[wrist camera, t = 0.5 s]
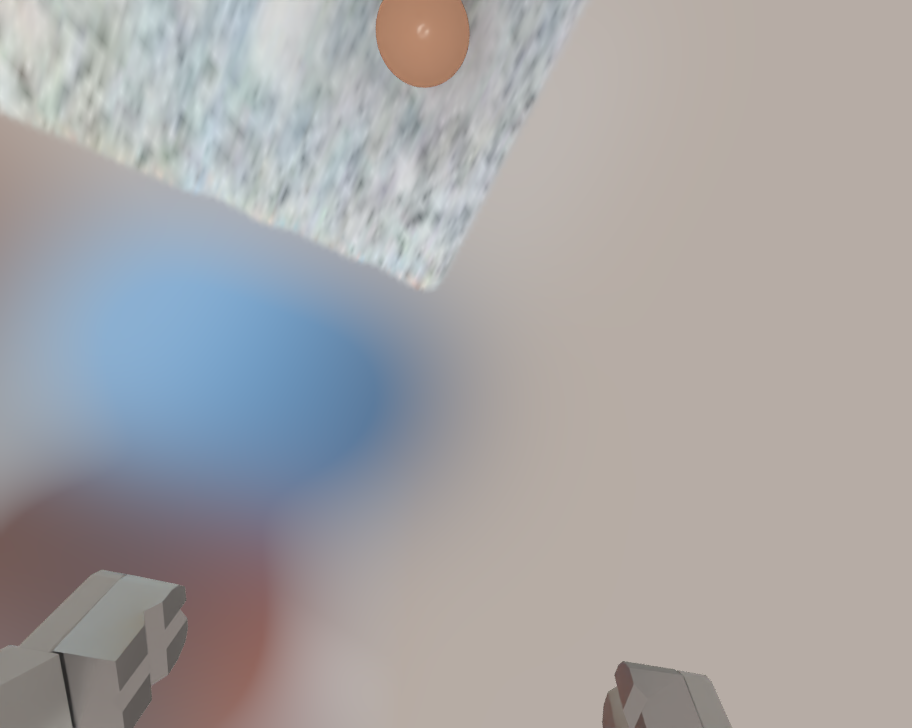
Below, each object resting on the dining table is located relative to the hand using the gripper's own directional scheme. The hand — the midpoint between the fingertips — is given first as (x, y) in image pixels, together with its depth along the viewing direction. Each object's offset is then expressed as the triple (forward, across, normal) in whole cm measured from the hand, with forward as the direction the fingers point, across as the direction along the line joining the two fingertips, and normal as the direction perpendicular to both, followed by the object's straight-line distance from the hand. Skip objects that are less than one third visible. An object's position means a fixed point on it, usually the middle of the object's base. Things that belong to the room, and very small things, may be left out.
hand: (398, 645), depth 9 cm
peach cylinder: (+44, +8, -20) cm, 49 cm away
